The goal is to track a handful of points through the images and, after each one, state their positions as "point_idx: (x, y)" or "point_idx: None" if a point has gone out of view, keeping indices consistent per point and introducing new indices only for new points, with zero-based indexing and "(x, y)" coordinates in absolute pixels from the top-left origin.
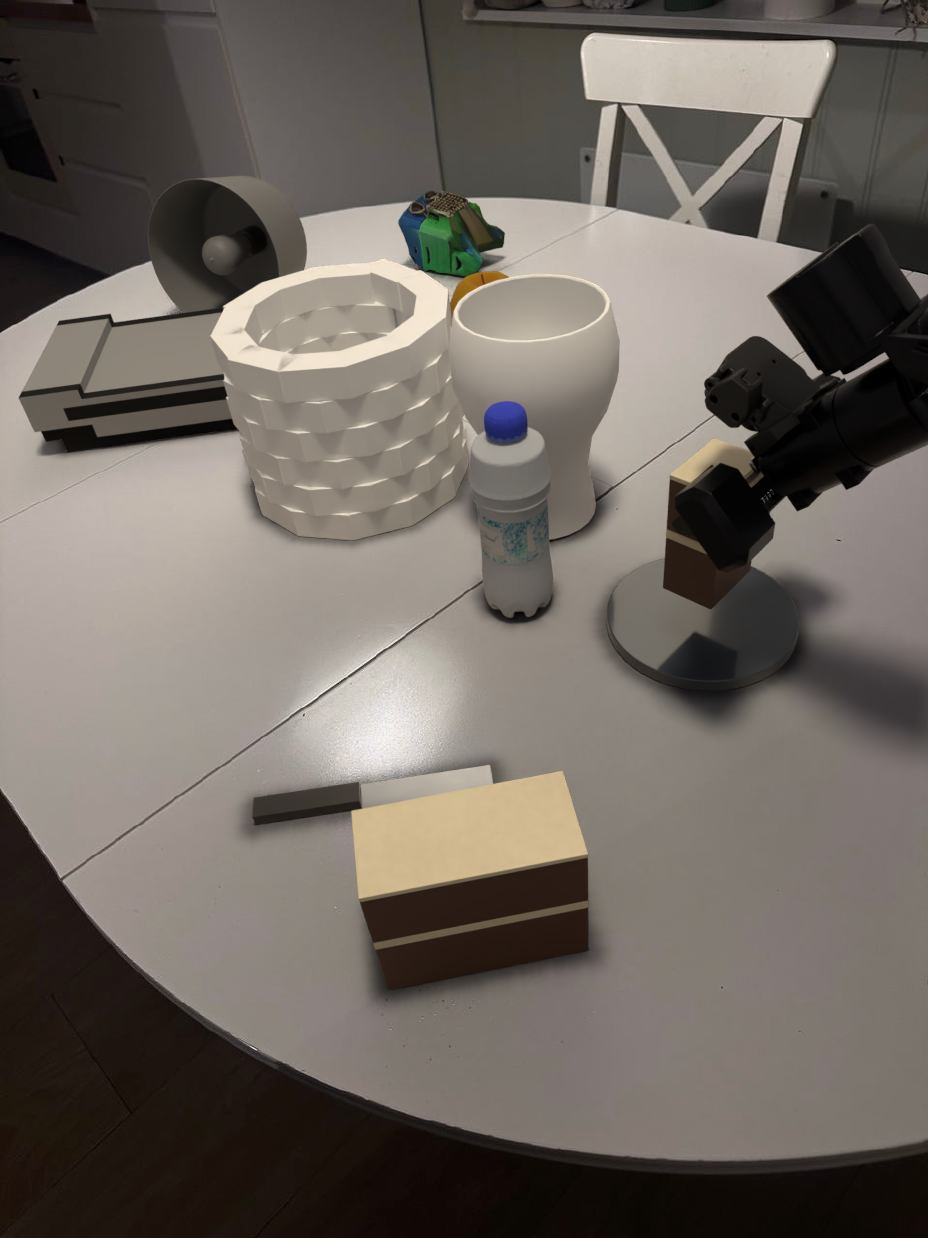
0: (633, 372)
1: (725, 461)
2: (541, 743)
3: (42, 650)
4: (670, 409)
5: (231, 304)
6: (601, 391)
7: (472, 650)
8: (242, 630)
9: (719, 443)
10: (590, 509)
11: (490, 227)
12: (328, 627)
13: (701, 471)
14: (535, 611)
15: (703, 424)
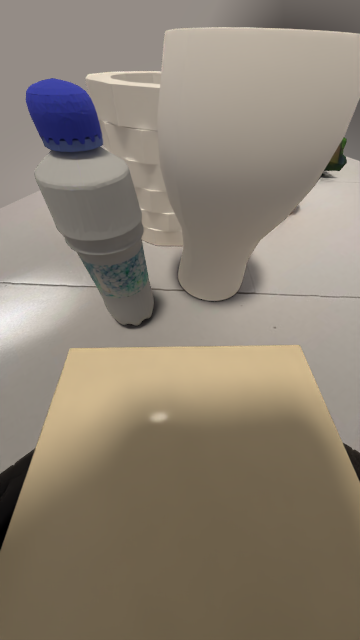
0: (339, 248)
1: (231, 466)
2: (14, 402)
3: (18, 206)
4: (337, 277)
5: (147, 71)
6: (258, 191)
7: (83, 316)
8: (54, 239)
9: (295, 374)
10: (223, 295)
11: (342, 155)
12: (70, 260)
13: (125, 422)
14: (123, 324)
15: (348, 298)
